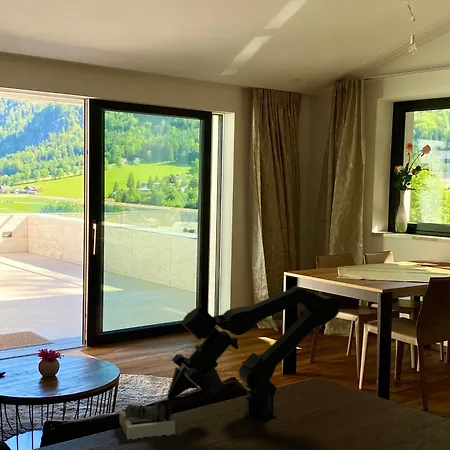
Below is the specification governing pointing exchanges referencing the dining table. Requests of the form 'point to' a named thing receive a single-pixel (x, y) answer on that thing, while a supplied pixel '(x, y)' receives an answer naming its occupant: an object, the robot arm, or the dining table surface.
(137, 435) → the white shallow tray
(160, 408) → the salt shaker
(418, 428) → the dining table surface
